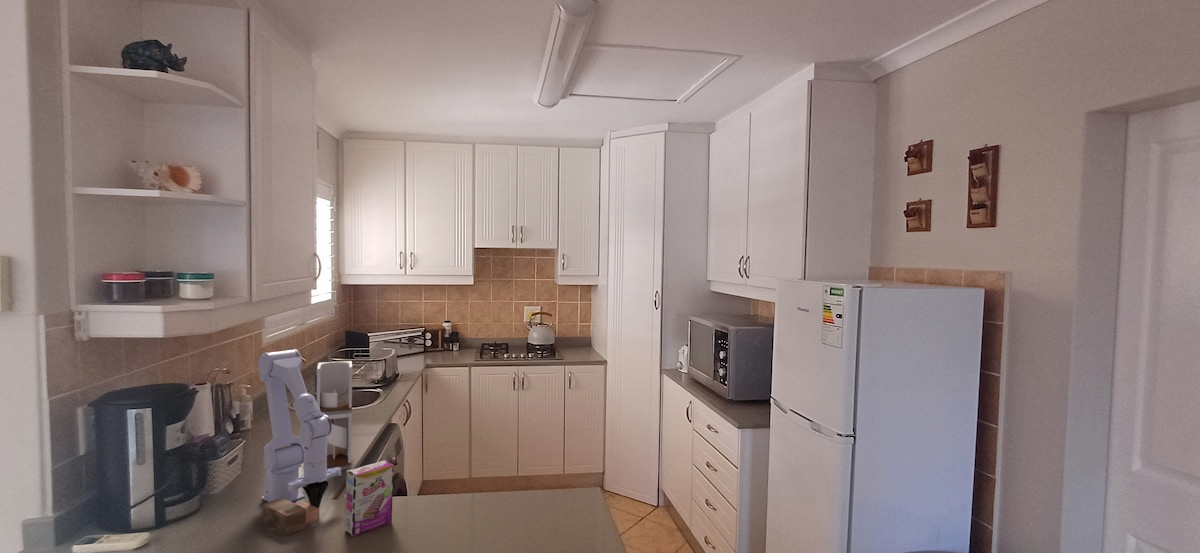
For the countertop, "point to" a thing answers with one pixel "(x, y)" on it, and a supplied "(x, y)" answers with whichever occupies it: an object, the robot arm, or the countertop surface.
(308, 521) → the terracotta brick
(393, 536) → the countertop surface
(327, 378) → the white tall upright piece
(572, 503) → the countertop surface
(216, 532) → the countertop surface
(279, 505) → the tan wooden box
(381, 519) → the candy bar box
